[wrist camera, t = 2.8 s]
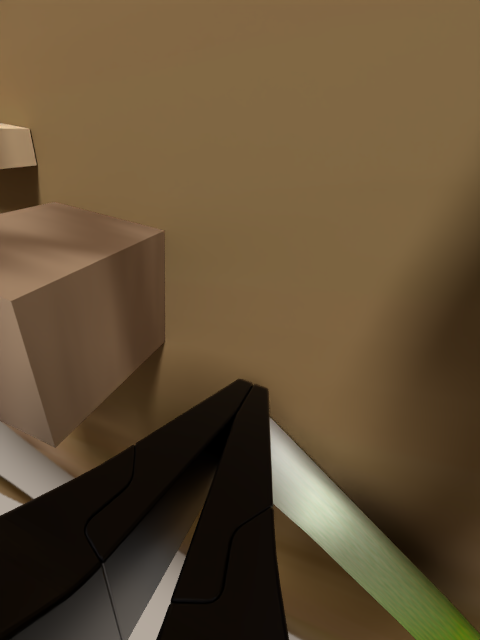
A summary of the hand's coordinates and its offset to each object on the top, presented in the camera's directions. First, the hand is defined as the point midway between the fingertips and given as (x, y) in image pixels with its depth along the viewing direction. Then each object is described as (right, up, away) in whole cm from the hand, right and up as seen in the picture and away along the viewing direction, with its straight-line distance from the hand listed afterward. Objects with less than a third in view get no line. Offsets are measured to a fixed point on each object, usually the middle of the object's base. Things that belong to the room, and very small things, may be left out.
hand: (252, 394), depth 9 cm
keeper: (-6, +4, +5) cm, 8 cm away
